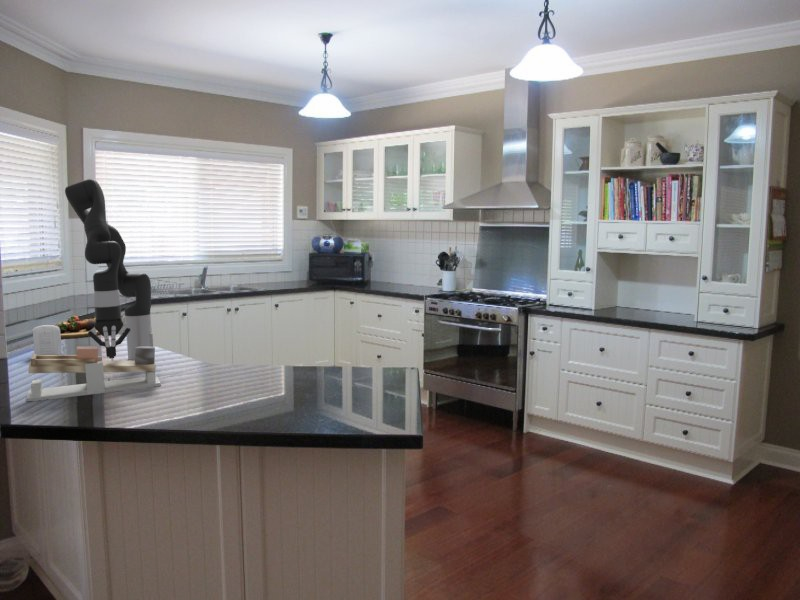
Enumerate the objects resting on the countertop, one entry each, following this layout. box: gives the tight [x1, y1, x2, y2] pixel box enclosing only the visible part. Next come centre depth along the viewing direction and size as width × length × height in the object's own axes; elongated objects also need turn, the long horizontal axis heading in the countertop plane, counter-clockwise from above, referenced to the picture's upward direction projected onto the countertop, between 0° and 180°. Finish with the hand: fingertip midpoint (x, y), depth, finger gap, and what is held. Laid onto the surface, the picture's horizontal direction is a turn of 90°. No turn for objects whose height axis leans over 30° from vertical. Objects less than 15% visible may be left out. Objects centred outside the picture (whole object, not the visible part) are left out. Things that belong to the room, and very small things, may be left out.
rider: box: [76, 345, 99, 363], centre depth 212 cm, size 6×5×5 cm
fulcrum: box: [26, 355, 161, 402], centre depth 213 cm, size 38×12×10 cm, turn 115°
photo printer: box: [32, 324, 63, 355], centre depth 272 cm, size 10×4×12 cm, turn 98°
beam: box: [28, 346, 157, 374], centre depth 213 cm, size 36×9×7 cm, turn 116°
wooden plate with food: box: [54, 315, 102, 340], centre depth 327 cm, size 32×32×8 cm
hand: (111, 358), depth 215 cm, fingers closed
